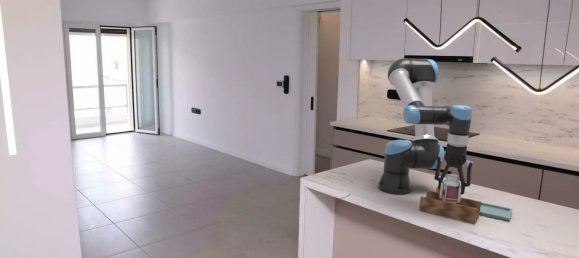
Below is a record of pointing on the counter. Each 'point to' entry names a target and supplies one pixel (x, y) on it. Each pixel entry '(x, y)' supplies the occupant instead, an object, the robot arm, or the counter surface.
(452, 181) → the pill bottle
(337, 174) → the counter surface
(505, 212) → the tray
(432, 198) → the wooden shelf
